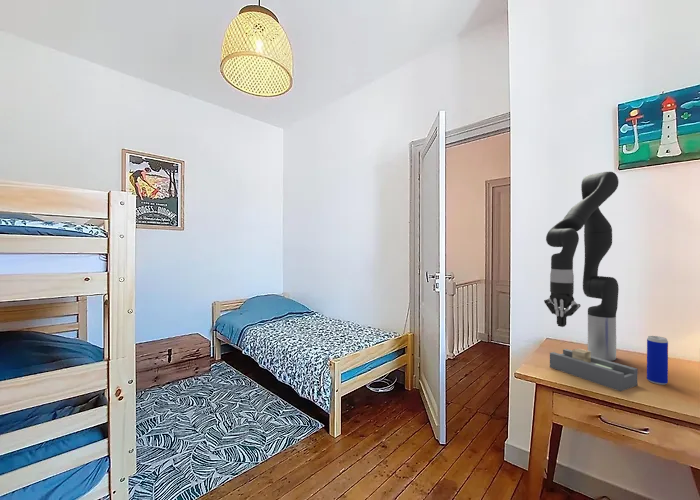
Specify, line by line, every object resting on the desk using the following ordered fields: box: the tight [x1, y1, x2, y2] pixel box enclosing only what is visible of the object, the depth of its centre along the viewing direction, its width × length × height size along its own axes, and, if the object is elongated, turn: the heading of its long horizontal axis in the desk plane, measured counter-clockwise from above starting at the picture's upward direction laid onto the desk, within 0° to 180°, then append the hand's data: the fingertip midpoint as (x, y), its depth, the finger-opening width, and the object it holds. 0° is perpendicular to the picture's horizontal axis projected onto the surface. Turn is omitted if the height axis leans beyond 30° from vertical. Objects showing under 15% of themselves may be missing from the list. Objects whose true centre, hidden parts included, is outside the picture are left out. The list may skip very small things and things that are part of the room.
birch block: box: [572, 348, 591, 363], centre depth 119 cm, size 4×4×4 cm
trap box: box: [549, 348, 639, 392], centre depth 116 cm, size 10×23×6 cm, turn 25°
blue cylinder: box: [646, 335, 669, 386], centre depth 110 cm, size 5×5×15 cm
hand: (561, 326), depth 125 cm, fingers closed
